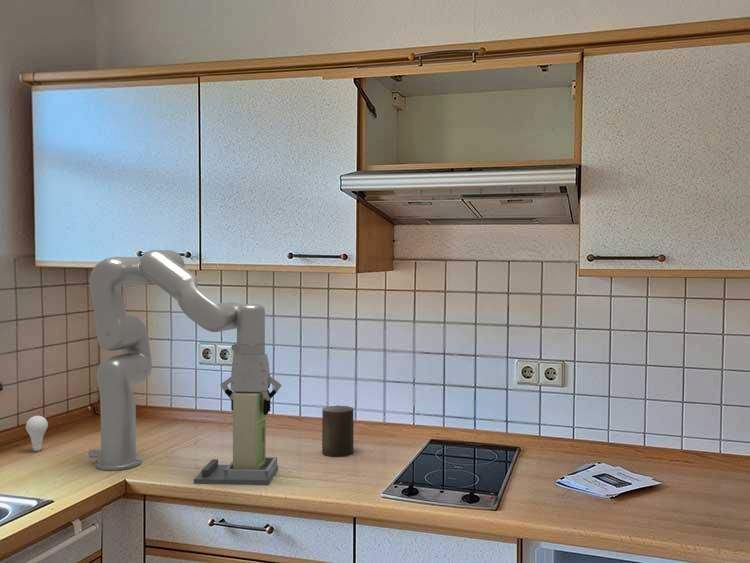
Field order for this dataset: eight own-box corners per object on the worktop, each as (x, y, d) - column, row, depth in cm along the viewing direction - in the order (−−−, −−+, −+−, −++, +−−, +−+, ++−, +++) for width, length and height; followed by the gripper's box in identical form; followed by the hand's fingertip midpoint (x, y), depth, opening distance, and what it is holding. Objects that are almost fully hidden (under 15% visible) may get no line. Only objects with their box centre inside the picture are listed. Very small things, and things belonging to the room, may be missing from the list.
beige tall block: (258, 472, 186) (258, 394, 185) (232, 471, 187) (232, 393, 186) (268, 464, 193) (268, 389, 193) (243, 462, 195) (243, 388, 194)
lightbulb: (49, 447, 219) (48, 413, 218) (46, 452, 213) (46, 417, 213) (27, 449, 217) (27, 414, 217) (24, 454, 211) (24, 418, 211)
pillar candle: (350, 457, 208) (350, 407, 208) (318, 456, 210) (319, 406, 209) (356, 449, 218) (356, 401, 218) (325, 447, 219) (325, 400, 219)
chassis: (193, 483, 184) (193, 469, 184) (208, 468, 198) (208, 455, 197) (268, 485, 183) (268, 471, 183) (278, 469, 196) (278, 456, 196)
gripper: (215, 351, 186) (215, 416, 186) (280, 351, 185) (279, 417, 185) (223, 347, 193) (223, 410, 194) (285, 348, 192) (285, 411, 193)
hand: (250, 413), depth 190 cm, fingers closed on beige tall block, 7 cm apart
